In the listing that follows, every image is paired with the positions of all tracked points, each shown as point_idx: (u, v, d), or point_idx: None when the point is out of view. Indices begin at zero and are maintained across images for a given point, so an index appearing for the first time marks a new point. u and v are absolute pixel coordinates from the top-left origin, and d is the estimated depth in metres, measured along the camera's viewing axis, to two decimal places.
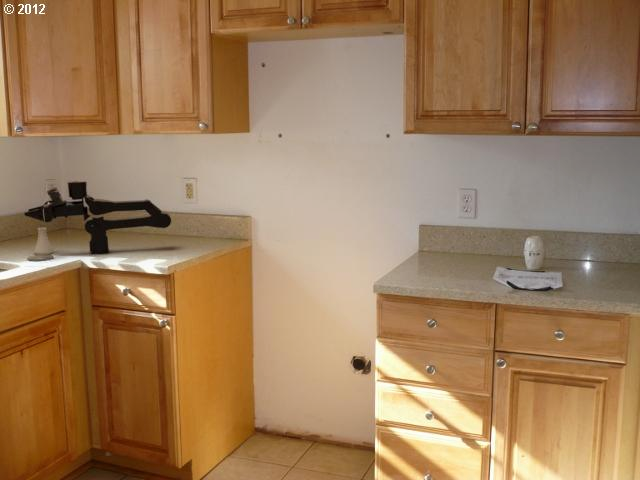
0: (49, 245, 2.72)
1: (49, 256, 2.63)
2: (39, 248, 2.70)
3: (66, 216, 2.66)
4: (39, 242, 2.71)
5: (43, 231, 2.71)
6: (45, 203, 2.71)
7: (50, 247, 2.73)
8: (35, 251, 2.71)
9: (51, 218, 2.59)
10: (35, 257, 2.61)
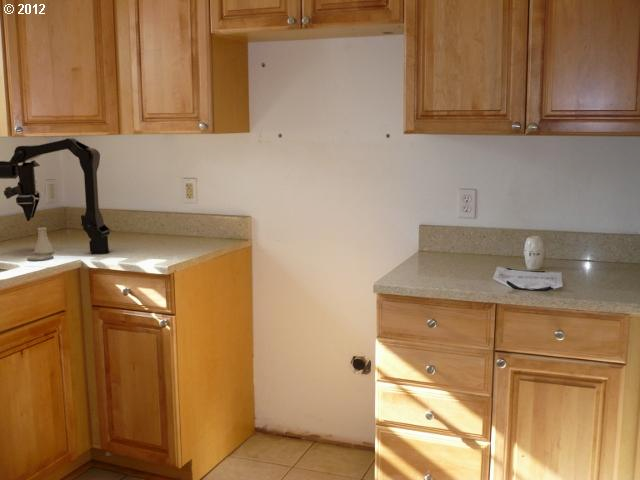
0: (49, 245, 2.72)
1: (49, 256, 2.63)
2: (39, 248, 2.70)
3: (33, 182, 2.70)
4: (39, 242, 2.71)
5: (43, 231, 2.71)
6: None
7: (50, 247, 2.73)
8: (35, 251, 2.71)
9: (29, 196, 2.64)
10: (35, 257, 2.61)
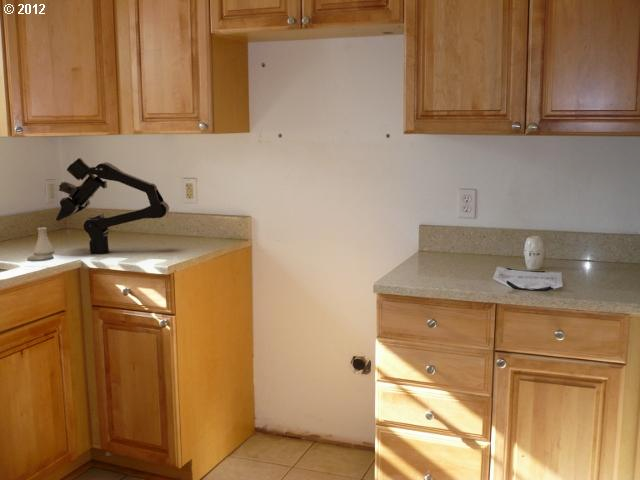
0: (49, 245, 2.72)
1: (49, 256, 2.63)
2: (39, 248, 2.70)
3: (88, 196, 2.67)
4: (39, 242, 2.71)
5: (43, 231, 2.71)
6: None
7: (50, 247, 2.73)
8: (35, 251, 2.71)
9: (73, 206, 2.61)
10: (35, 257, 2.61)
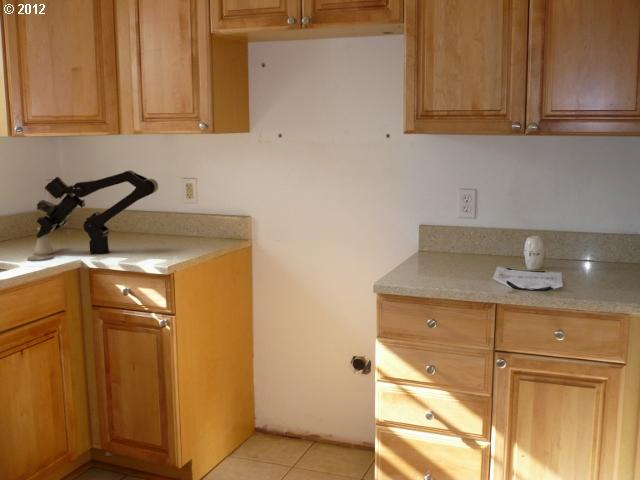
0: (49, 245, 2.72)
1: (49, 256, 2.63)
2: (39, 247, 2.70)
3: (65, 215, 2.68)
4: (39, 242, 2.71)
5: None
6: None
7: (50, 247, 2.73)
8: (35, 251, 2.71)
9: (50, 225, 2.62)
10: (35, 257, 2.61)
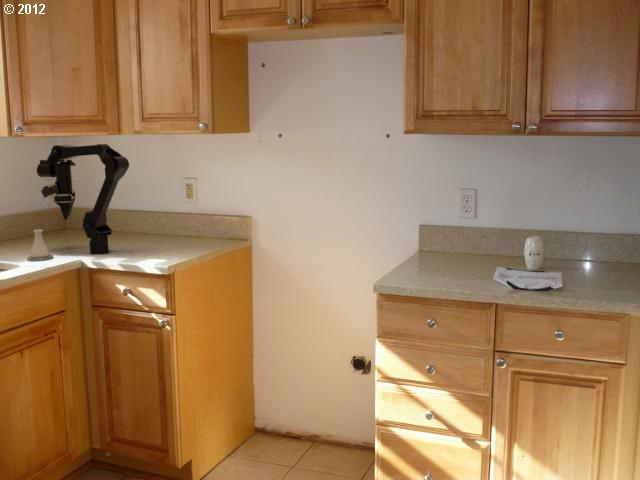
0: (46, 247, 2.63)
1: (49, 256, 2.63)
2: (39, 250, 2.60)
3: (70, 181, 2.72)
4: (38, 245, 2.60)
5: (41, 233, 2.61)
6: None
7: (47, 249, 2.63)
8: (34, 254, 2.59)
9: (67, 195, 2.66)
10: None
